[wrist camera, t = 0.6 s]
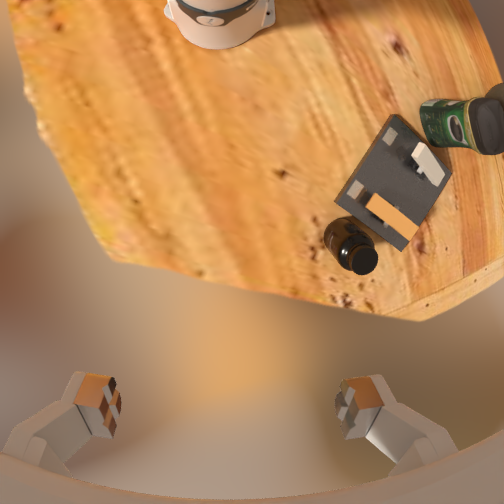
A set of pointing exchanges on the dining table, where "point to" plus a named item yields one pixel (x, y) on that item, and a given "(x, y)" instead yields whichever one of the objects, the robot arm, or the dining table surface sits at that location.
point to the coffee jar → (465, 124)
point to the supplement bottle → (351, 246)
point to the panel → (391, 181)
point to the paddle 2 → (428, 164)
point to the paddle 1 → (392, 216)
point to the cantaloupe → (497, 93)
